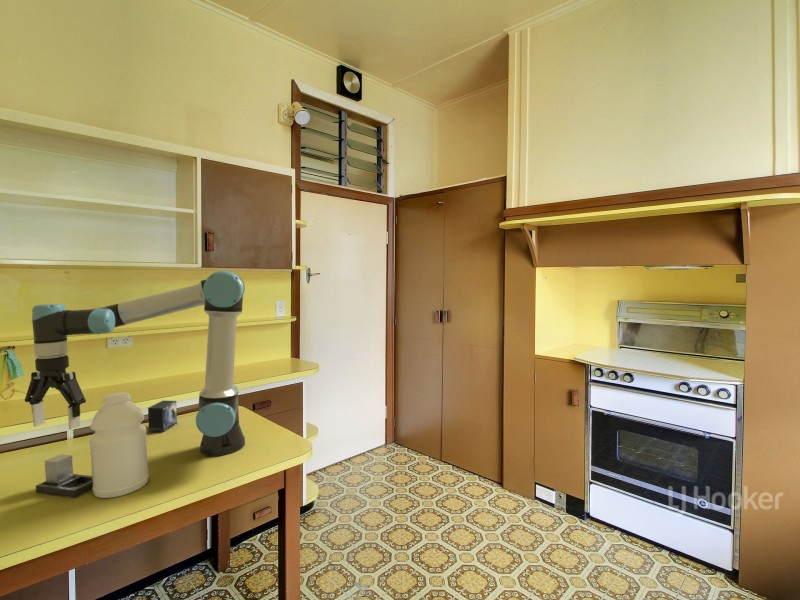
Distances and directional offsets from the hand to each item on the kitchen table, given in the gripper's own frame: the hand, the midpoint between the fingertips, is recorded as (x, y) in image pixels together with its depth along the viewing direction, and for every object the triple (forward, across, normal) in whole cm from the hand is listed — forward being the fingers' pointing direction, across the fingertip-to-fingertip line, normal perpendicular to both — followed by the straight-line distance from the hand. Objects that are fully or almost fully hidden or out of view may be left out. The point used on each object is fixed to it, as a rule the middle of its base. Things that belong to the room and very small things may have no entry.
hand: (56, 426), depth 121 cm
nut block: (+19, 0, 0) cm, 19 cm away
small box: (+19, +8, -48) cm, 52 cm away
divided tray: (+19, -4, 0) cm, 19 cm away
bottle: (+19, -18, -4) cm, 27 cm away
